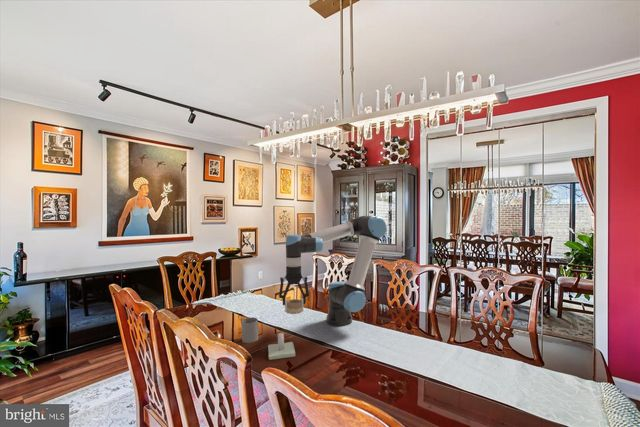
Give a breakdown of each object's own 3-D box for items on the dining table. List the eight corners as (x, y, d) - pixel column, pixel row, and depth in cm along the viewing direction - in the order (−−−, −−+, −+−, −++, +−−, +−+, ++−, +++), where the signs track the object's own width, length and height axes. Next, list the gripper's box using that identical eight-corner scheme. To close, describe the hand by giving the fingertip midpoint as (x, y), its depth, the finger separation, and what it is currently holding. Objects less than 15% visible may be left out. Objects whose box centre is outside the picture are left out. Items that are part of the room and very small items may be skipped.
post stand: (292, 345, 151) (292, 327, 151) (295, 356, 139) (294, 337, 139) (268, 348, 149) (267, 330, 149) (268, 359, 137) (268, 341, 137)
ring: (300, 308, 158) (300, 298, 158) (302, 313, 150) (302, 303, 150) (286, 309, 157) (286, 299, 157) (287, 314, 149) (287, 304, 149)
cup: (254, 343, 155) (253, 323, 155) (239, 342, 157) (238, 323, 156) (260, 336, 163) (260, 317, 163) (246, 335, 165) (245, 317, 165)
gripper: (312, 263, 159) (313, 307, 159) (272, 265, 155) (273, 309, 155) (314, 266, 151) (315, 312, 151) (273, 267, 148) (273, 314, 148)
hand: (294, 310), depth 153 cm, fingers closed on ring, 8 cm apart
